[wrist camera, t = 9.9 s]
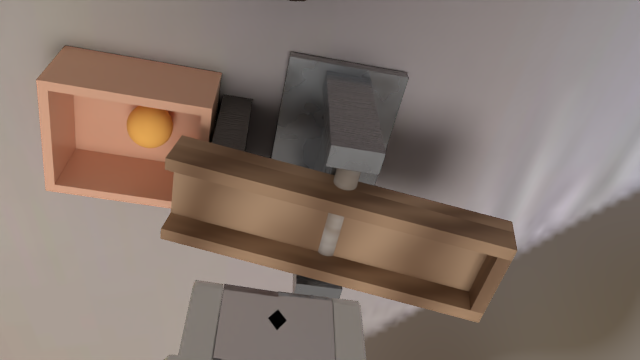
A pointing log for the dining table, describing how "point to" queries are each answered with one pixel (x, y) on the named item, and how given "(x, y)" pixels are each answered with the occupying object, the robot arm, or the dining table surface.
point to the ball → (149, 126)
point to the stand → (325, 125)
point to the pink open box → (117, 122)
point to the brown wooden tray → (336, 229)
